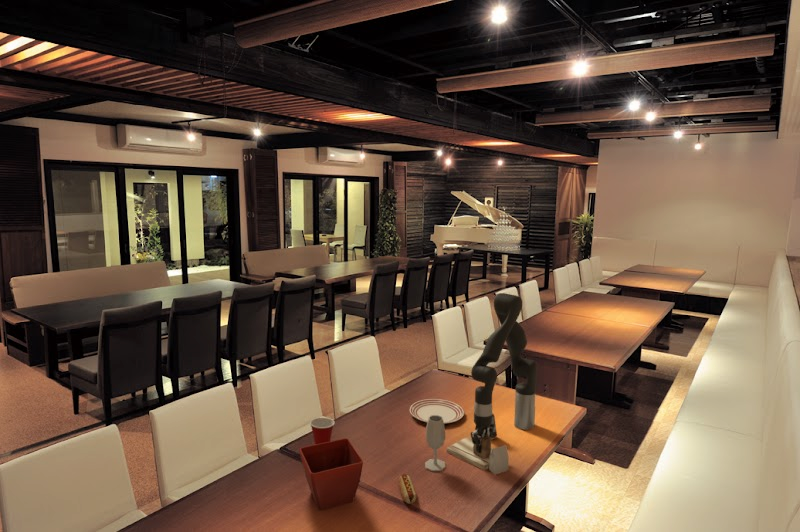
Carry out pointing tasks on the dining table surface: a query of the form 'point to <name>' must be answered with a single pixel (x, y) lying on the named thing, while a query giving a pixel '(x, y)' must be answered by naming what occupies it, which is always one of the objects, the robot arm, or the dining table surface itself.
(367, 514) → the dining table surface
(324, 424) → the plastic cup
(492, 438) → the beverage can
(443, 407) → the dinner plate
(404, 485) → the food
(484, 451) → the block
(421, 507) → the dining table surface
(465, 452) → the board
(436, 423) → the wineglass
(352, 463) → the plant pot
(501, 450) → the tea bag
